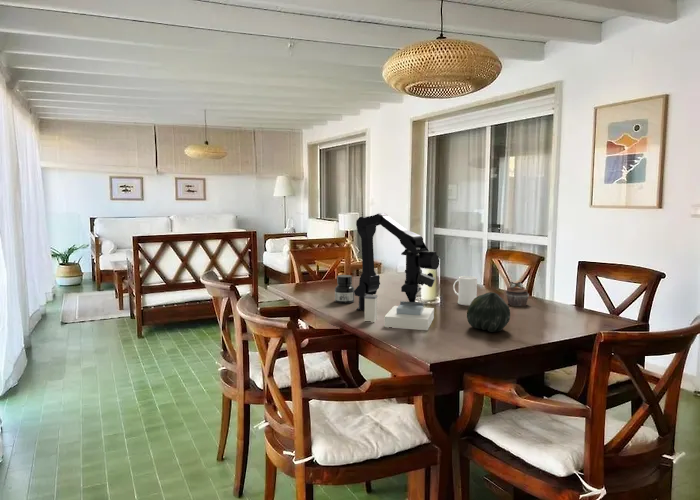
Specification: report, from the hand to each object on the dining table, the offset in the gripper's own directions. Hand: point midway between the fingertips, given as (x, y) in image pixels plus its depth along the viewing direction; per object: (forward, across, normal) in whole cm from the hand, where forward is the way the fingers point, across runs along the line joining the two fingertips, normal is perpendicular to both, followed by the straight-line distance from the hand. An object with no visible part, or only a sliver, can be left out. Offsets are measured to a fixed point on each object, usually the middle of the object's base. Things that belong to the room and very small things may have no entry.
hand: (412, 306), depth 196 cm
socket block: (+5, -6, 0) cm, 8 cm away
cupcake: (+5, +40, -41) cm, 58 cm away
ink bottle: (+5, +23, +35) cm, 42 cm away
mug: (+5, +36, -18) cm, 41 cm away
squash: (+5, -8, -29) cm, 31 cm away
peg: (+5, -8, +15) cm, 18 cm away
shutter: (+1, -6, 0) cm, 6 cm away
